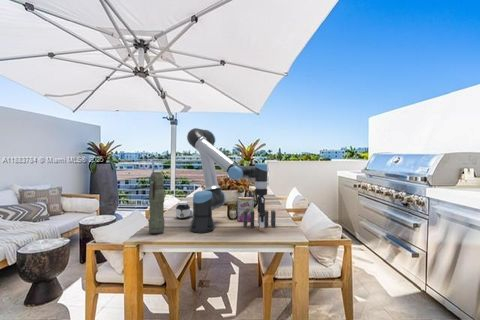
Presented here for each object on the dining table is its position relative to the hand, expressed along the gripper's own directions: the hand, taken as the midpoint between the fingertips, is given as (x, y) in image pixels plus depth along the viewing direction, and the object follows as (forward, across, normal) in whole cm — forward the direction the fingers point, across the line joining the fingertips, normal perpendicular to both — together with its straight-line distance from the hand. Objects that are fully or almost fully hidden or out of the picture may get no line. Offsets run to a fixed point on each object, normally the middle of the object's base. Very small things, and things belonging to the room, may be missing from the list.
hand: (260, 225), depth 152 cm
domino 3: (+3, 0, 0) cm, 3 cm away
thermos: (+3, -1, +63) cm, 63 cm away
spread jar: (+3, +33, +52) cm, 61 cm away
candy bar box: (+3, +22, +8) cm, 24 cm away
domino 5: (+3, +8, -9) cm, 12 cm away
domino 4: (+3, +8, -4) cm, 10 cm away
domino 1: (+3, +8, +9) cm, 12 cm away
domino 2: (+3, +8, +4) cm, 10 cm away
